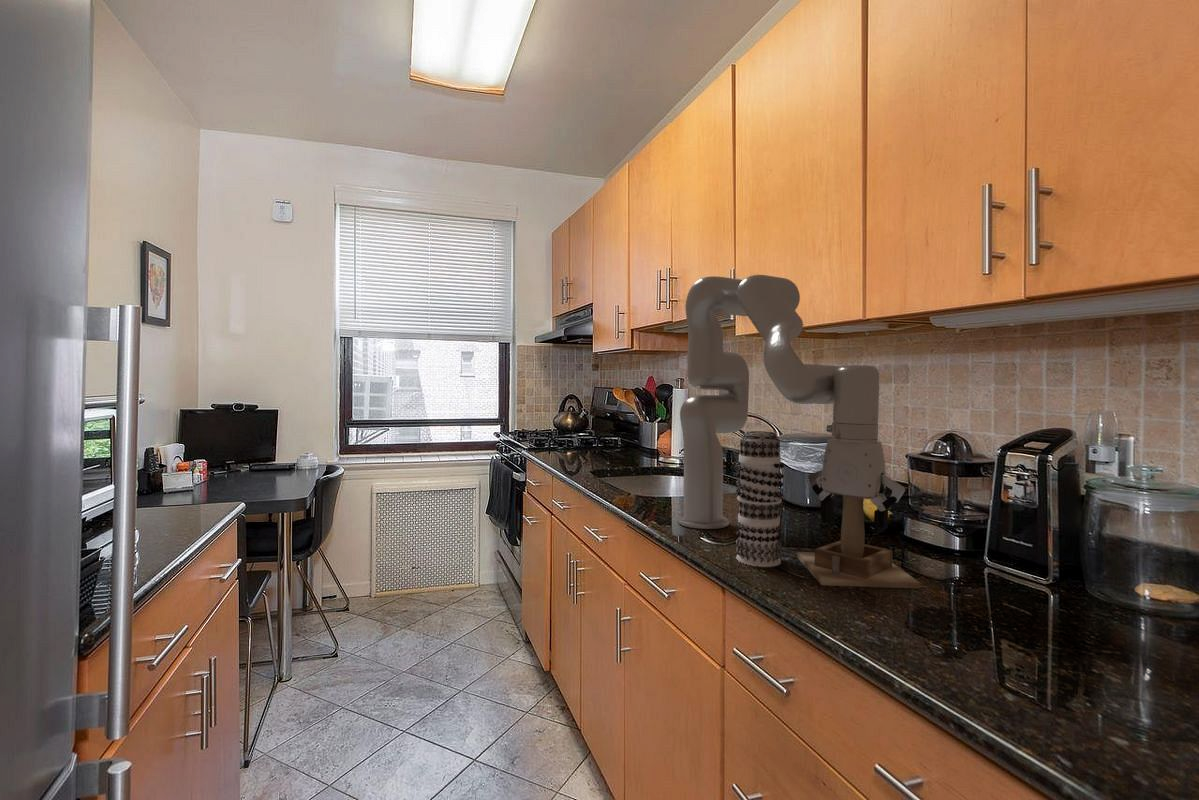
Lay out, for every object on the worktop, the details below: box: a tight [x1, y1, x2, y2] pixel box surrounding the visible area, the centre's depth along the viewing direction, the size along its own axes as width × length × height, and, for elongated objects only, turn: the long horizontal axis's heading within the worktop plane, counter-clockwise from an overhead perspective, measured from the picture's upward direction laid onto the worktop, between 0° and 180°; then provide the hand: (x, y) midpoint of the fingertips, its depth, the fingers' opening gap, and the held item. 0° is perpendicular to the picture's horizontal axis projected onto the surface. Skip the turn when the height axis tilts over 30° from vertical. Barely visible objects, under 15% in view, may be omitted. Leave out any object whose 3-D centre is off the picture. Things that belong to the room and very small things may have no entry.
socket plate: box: [796, 539, 921, 590], centre depth 103 cm, size 16×16×4 cm
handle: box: [840, 495, 866, 558], centre depth 103 cm, size 5×6×15 cm
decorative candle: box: [734, 430, 785, 568], centre depth 109 cm, size 9×9×25 cm
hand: (852, 526), depth 103 cm, fingers open, 9 cm apart
